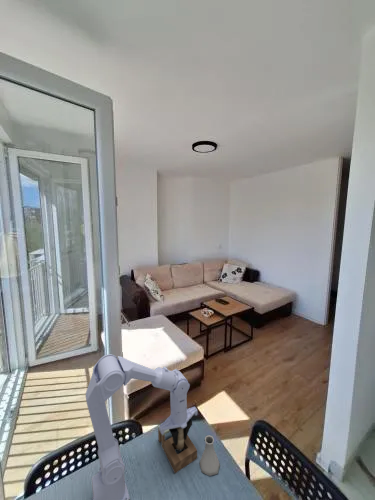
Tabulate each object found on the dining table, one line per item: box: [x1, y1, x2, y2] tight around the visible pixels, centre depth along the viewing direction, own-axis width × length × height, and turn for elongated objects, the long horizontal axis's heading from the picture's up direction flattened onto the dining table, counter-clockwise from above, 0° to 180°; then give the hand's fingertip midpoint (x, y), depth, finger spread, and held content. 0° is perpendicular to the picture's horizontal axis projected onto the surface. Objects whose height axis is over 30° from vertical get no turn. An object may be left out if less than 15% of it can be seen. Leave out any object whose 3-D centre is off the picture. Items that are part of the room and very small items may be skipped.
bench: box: [157, 423, 171, 449], centre depth 86 cm, size 9×4×6 cm, turn 121°
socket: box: [162, 434, 198, 474], centre depth 80 cm, size 9×9×4 cm
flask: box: [198, 434, 221, 477], centre depth 76 cm, size 7×7×10 cm
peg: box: [176, 427, 184, 451], centre depth 80 cm, size 3×3×8 cm
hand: (179, 440), depth 80 cm, fingers closed on peg, 3 cm apart
